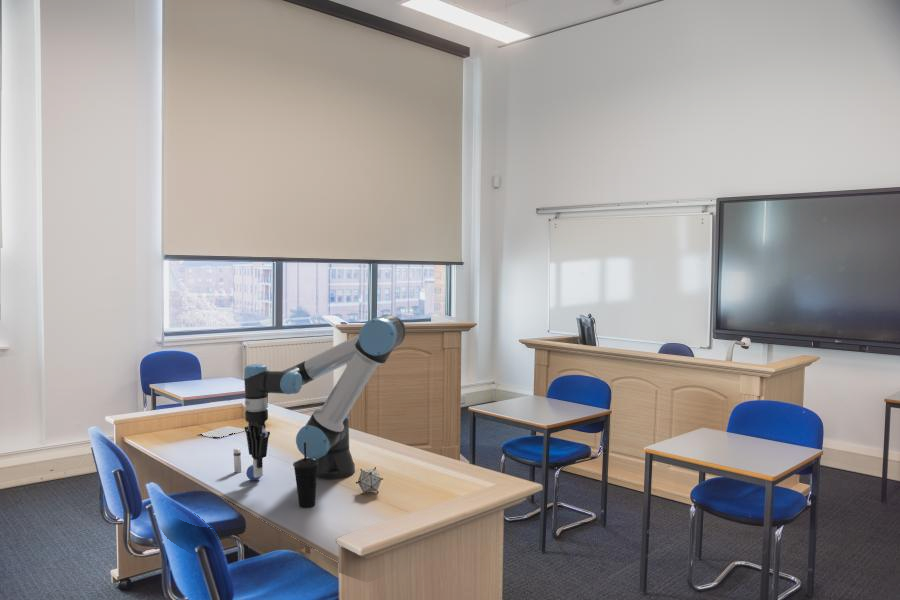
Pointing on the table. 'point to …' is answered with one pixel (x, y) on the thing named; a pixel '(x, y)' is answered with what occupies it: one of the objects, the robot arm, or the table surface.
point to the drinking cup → (306, 480)
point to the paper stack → (223, 431)
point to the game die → (369, 480)
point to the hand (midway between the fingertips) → (258, 476)
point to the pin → (237, 460)
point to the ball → (251, 473)
